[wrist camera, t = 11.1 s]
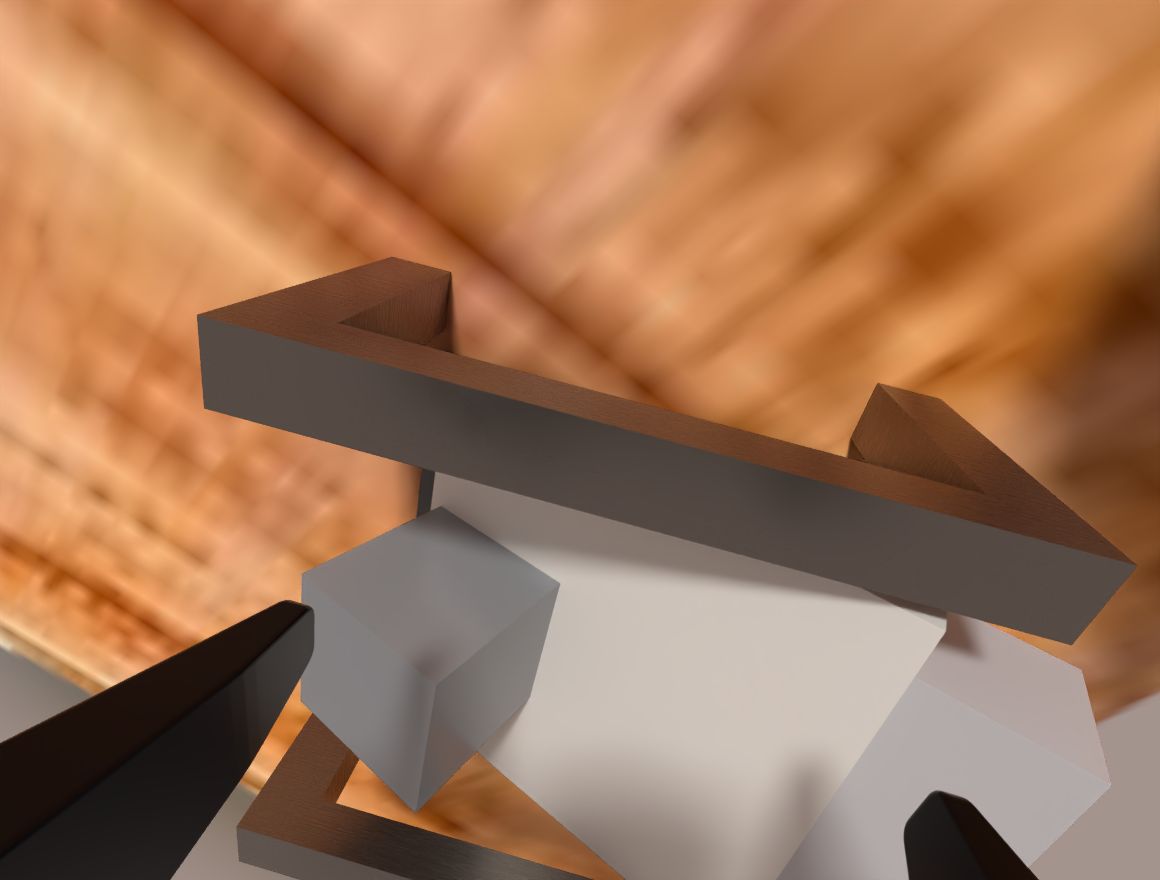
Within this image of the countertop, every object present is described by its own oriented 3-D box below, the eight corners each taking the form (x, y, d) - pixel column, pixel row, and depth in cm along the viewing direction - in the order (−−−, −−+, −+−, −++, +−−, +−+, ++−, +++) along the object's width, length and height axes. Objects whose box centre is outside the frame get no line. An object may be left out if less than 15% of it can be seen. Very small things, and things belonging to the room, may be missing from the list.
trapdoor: (1131, 612, 14) (1195, 758, 10) (875, 909, 20) (851, 1074, 16) (544, 352, 21) (447, 377, 17) (489, 627, 28) (407, 692, 24)
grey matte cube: (560, 583, 17) (435, 685, 13) (529, 696, 19) (415, 813, 15) (440, 506, 19) (301, 573, 15) (425, 616, 21) (300, 700, 17)
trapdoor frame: (940, 399, 18) (1137, 566, 10) (736, 774, 26) (761, 1019, 19) (391, 256, 19) (196, 315, 11) (361, 667, 27) (239, 860, 19)
